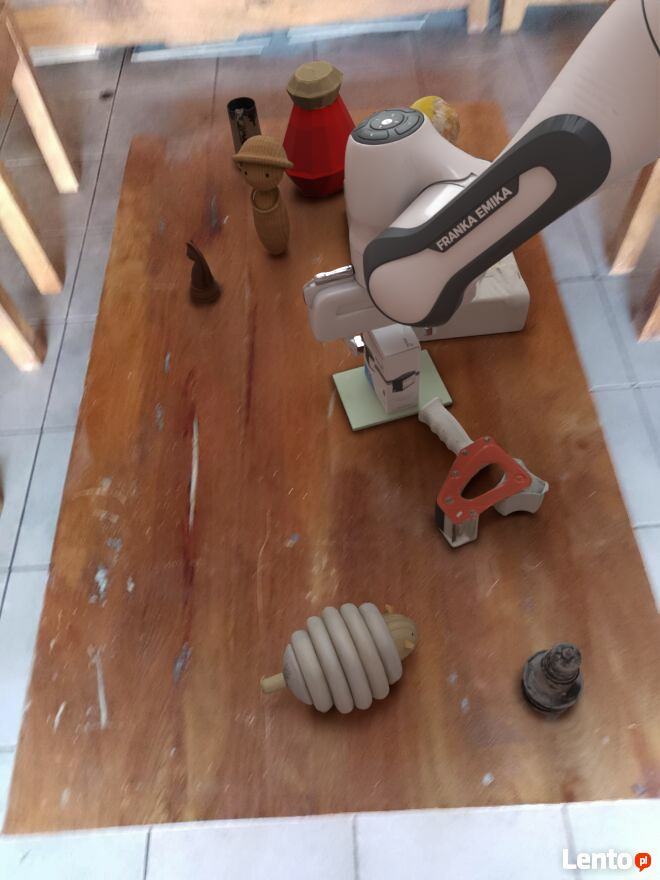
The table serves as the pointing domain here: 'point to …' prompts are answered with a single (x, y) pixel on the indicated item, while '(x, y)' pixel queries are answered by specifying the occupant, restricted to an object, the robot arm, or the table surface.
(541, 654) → the dark grey tiered post
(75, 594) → the table surface
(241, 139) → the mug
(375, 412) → the mat
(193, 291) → the chess piece
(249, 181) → the figurine
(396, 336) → the ink box
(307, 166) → the bottle
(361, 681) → the toy sheep
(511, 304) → the box
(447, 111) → the fruit
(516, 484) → the tape dispenser
